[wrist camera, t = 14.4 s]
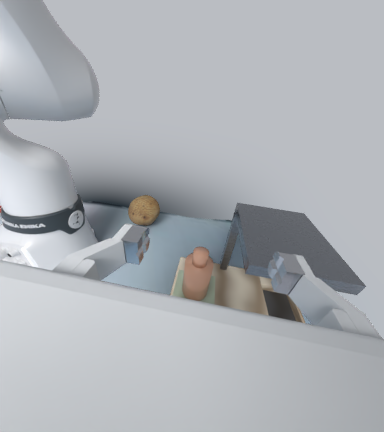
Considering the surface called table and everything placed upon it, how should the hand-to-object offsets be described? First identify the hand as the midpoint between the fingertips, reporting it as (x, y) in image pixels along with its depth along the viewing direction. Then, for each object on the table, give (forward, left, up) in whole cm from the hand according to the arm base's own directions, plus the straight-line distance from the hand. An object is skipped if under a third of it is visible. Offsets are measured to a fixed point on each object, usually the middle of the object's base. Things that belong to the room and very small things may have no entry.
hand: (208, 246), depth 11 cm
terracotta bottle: (0, +12, -22) cm, 25 cm away
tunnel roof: (+11, +13, -23) cm, 28 cm away
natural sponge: (-18, +32, -25) cm, 45 cm away
